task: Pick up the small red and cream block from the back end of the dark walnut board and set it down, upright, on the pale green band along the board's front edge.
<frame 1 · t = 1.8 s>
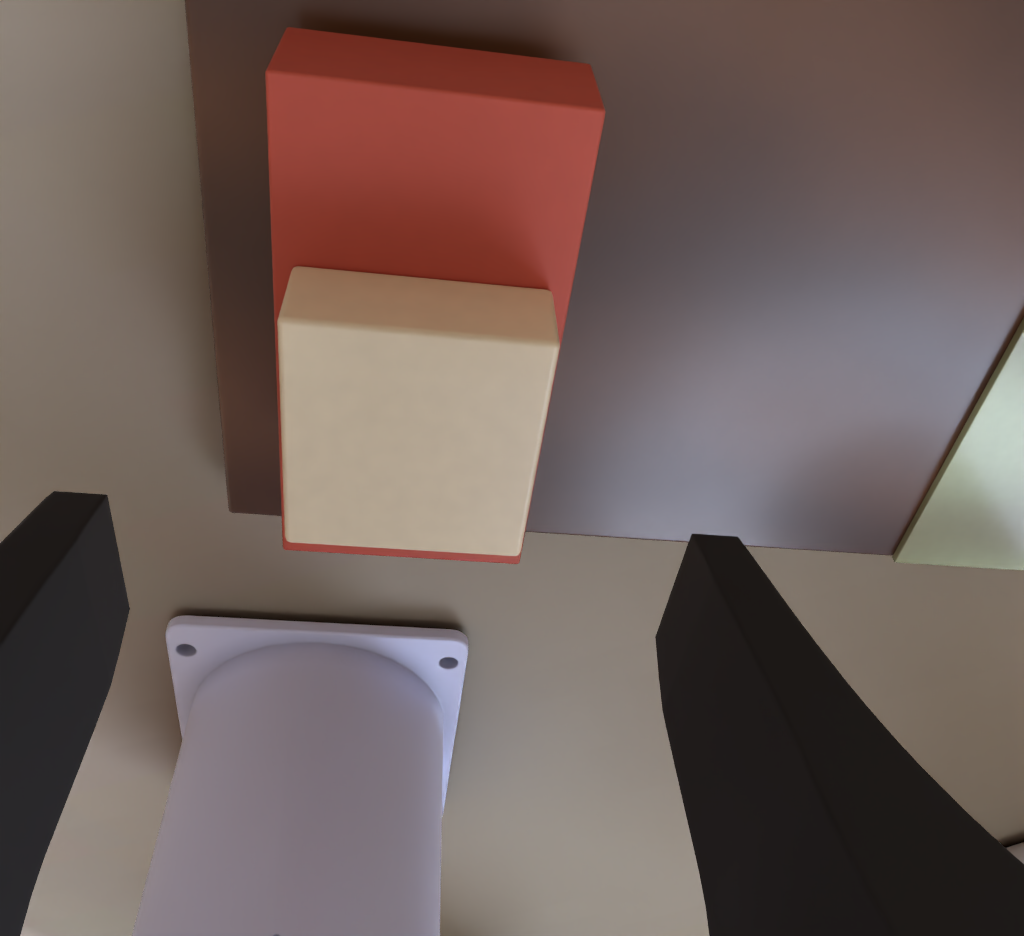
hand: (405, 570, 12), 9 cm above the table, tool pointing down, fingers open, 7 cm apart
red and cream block: (423, 277, 18), point 1 cm above the table, touching board
board: (766, 285, 19), on the table
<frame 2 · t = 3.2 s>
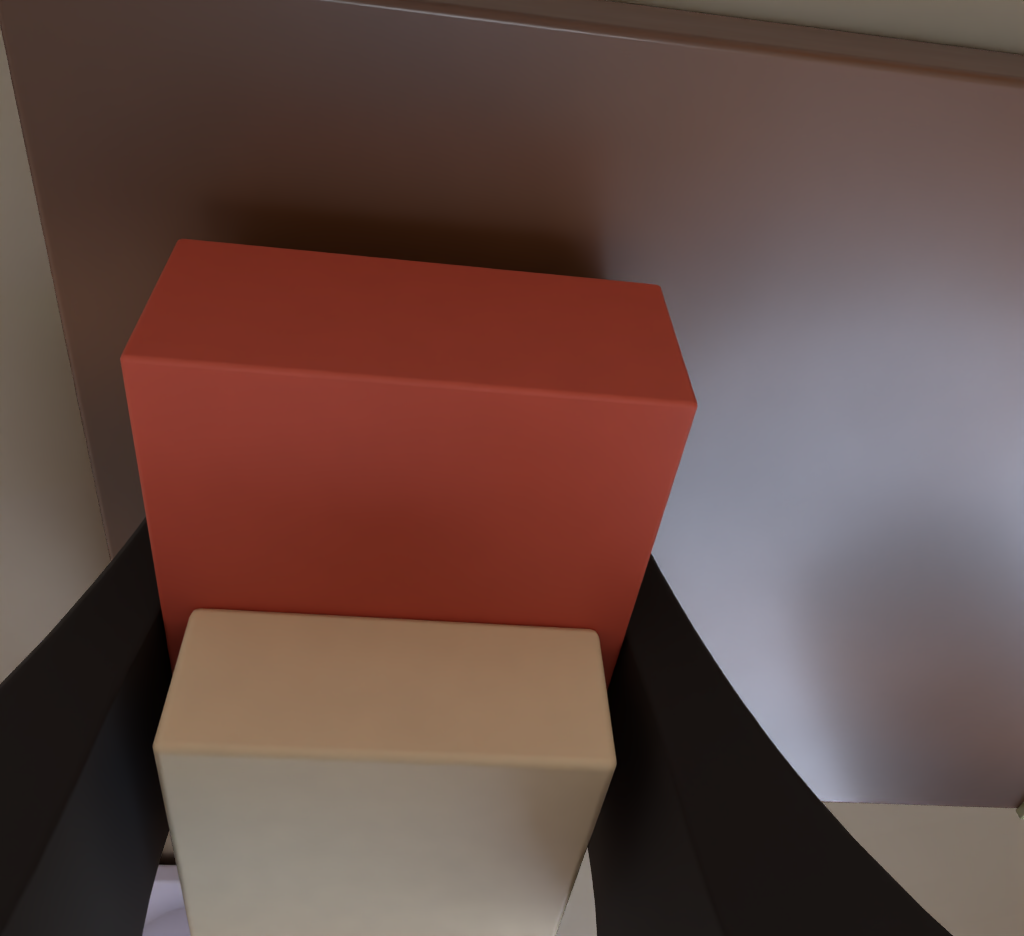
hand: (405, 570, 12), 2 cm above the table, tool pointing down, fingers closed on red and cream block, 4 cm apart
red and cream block: (404, 526, 13), point 1 cm above the table, touching board, gripper
board: (878, 510, 14), on the table
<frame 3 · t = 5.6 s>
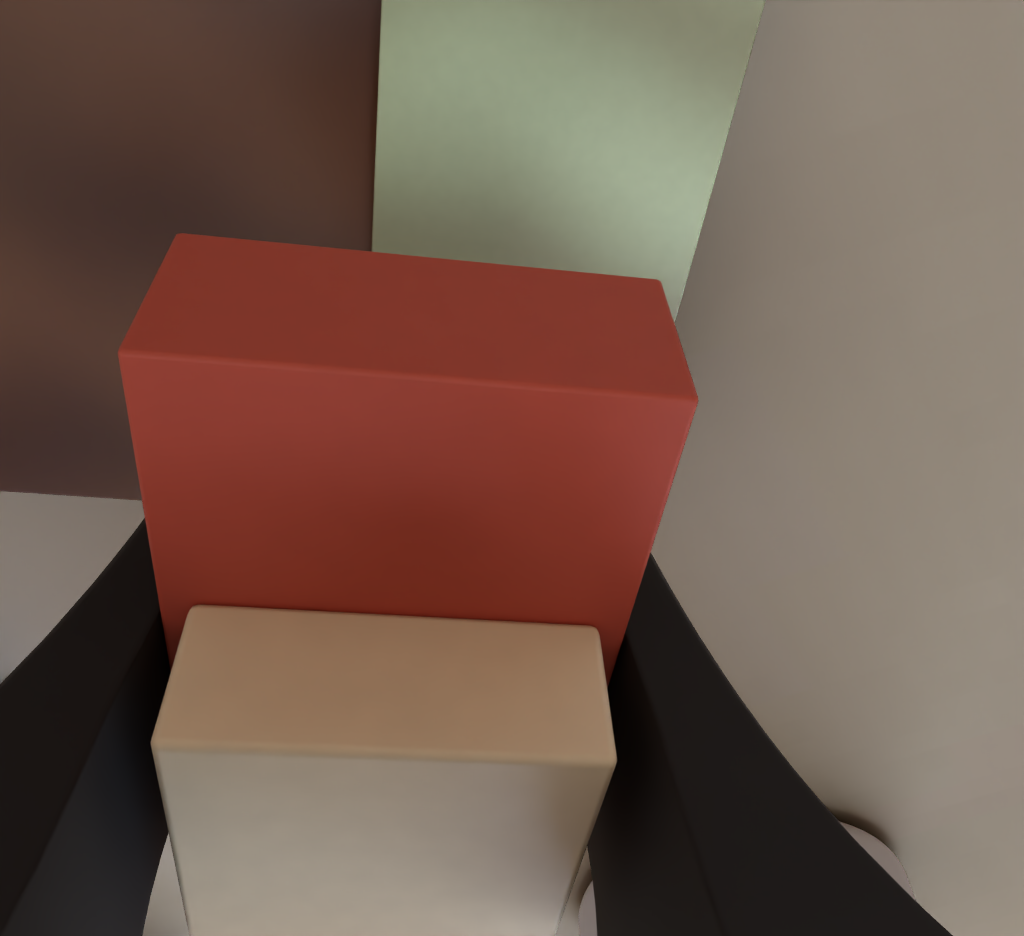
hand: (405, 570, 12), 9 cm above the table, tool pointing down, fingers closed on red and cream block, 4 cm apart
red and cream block: (404, 523, 13), point 8 cm above the table, touching gripper
board: (111, 216, 18), on the table
cylinder vase: (734, 882, 37), on the table
when the fingers open (2 cm above the table, at t = 7.9 s): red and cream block stays where it is, resting on board.
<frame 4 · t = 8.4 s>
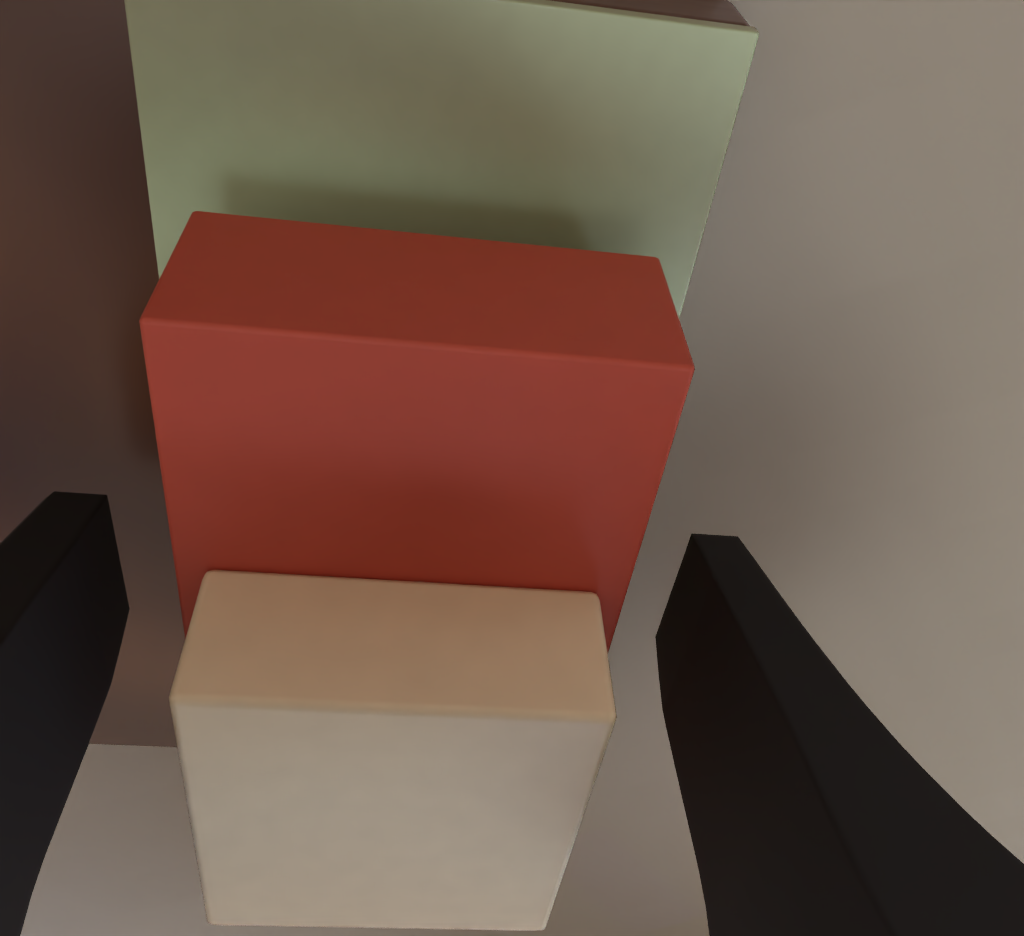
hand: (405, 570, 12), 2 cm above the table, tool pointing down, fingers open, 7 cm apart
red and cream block: (409, 500, 13), point 1 cm above the table, touching board
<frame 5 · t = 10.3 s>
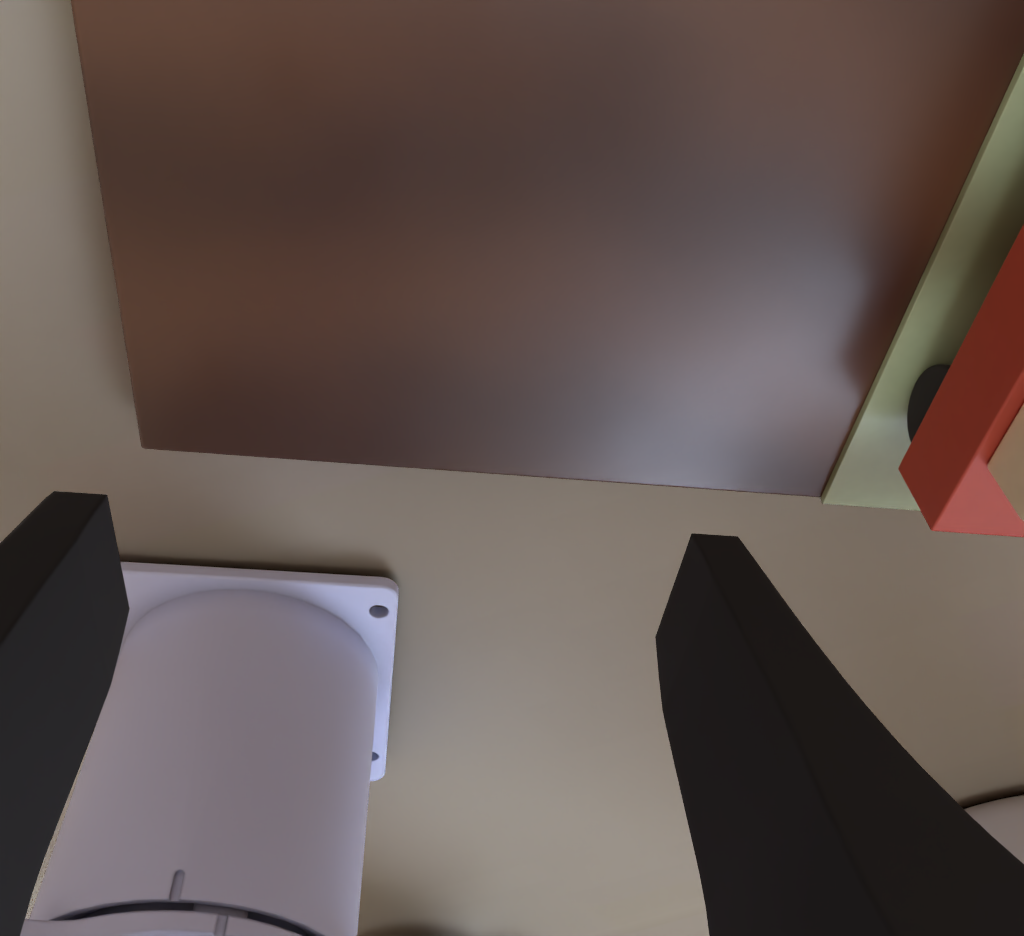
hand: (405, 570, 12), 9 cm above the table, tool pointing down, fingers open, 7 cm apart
board: (677, 211, 19), on the table
cylinder vase: (1003, 860, 38), on the table
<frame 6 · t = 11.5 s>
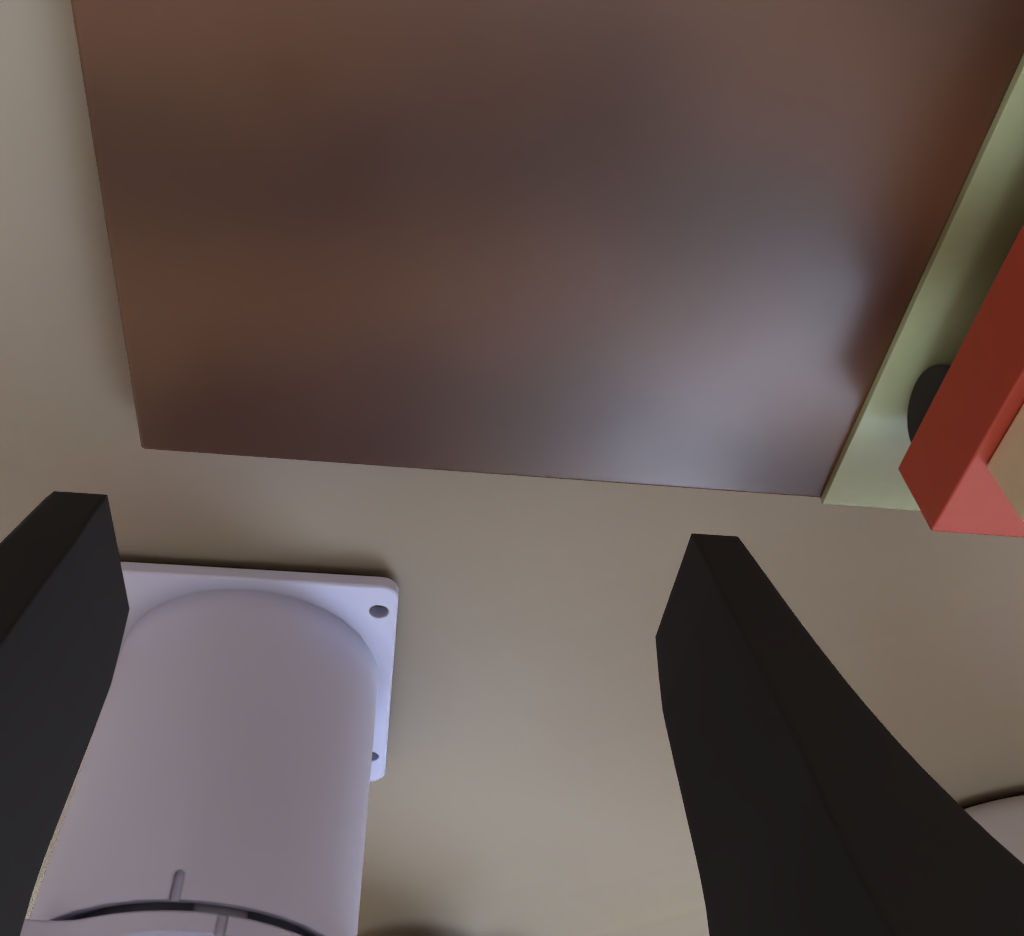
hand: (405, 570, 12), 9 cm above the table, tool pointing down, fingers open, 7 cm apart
board: (677, 211, 19), on the table
cylinder vase: (1003, 860, 38), on the table
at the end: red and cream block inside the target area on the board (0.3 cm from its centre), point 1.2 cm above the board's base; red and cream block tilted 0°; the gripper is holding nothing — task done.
